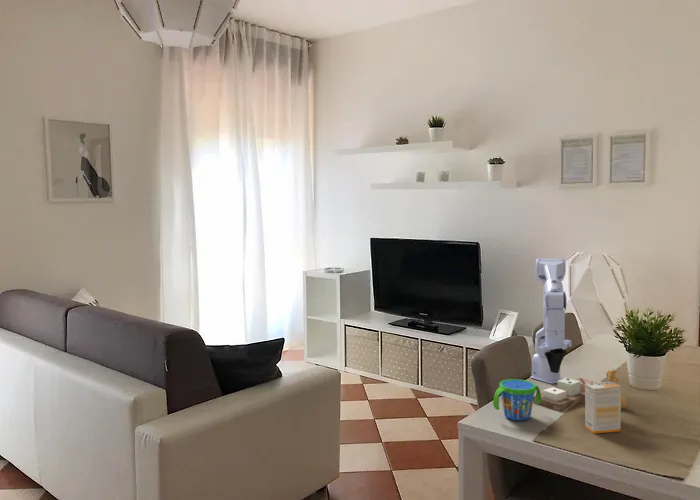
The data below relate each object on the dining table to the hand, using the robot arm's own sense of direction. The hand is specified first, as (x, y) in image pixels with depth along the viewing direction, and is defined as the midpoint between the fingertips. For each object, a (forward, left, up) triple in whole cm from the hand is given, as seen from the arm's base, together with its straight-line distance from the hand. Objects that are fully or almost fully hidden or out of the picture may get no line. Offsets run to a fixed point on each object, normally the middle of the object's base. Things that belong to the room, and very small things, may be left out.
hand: (554, 372), depth 184 cm
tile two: (0, +7, -8) cm, 11 cm away
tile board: (0, +7, -10) cm, 13 cm away
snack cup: (0, -18, -10) cm, 21 cm away
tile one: (0, 0, -10) cm, 10 cm away
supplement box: (+21, -8, -10) cm, 25 cm away
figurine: (+14, +11, -10) cm, 21 cm away
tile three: (0, +15, -10) cm, 18 cm away
